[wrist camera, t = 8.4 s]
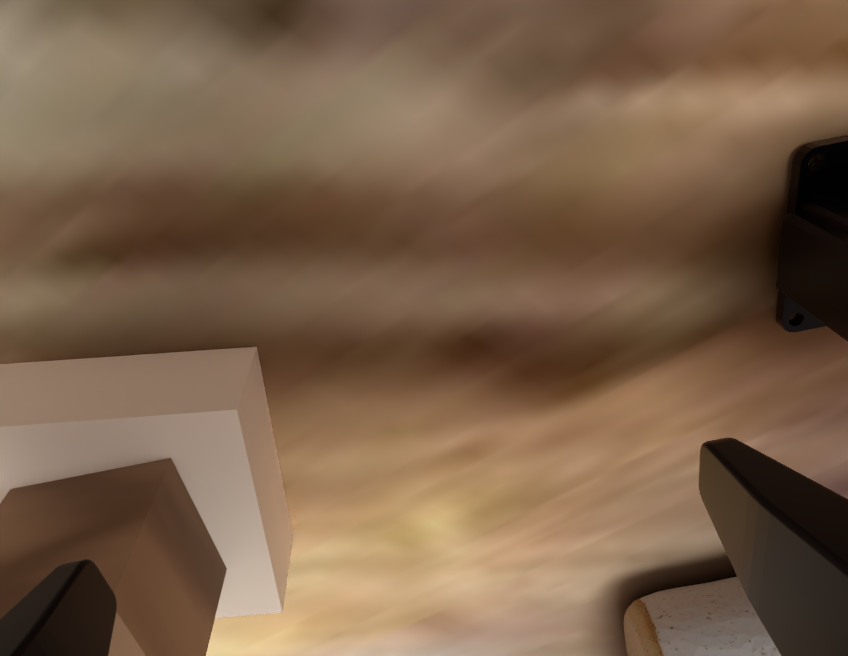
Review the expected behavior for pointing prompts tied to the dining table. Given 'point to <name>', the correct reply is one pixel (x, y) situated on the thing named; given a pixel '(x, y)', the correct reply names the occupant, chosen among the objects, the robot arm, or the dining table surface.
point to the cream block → (163, 447)
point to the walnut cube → (120, 552)
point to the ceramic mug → (696, 623)
